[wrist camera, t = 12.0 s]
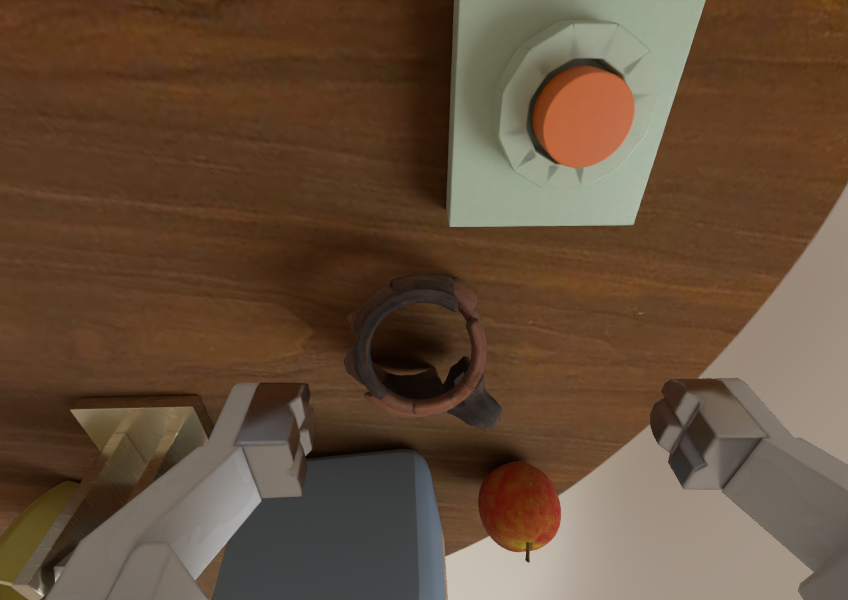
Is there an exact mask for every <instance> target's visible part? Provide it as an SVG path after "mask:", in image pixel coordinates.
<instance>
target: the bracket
mask: <svg viewBox="0 0 848 600" xmlns="http://www.w3.org/2000/svg"><path fill="white" fill-rule="evenodd" d="M70 411H71V412H72V414H73V415H74V416H75V418H76V419H77V420H78V422H79V423H80V424H81V426H82V427H83V429H84V430H85V431H86V433H87V434H88V435H89V437H90V438H91V439H92V441H93V442H94V443H95V445H96V446H97V448H98V449H99V450H100V452H101V453H100V454H99V456H98V457H97V459H96V460H95V462H94V463H93V465H92V466H91V468H90V469H89V471H88V472H87V474H86V475H85V477H84V478H83V480H82V481H81V483H80V484H79V486H78V487H77V489H76V490H75V491H74V493H73V494H72V496H71V497H70V499H69V500H68V502H67V503H66V505H65V506H64V508H63V509H62V511H61V512H60V514H59V515H58V517H57V518H56V520H55V521H54V523H53V524H52V526H51V527H50V529H49V530H48V532H47V533H46V535H45V536H44V538H43V539H42V541H41V542H40V544H39V545H38V547H37V548H36V550H35V551H34V553H33V554H32V556H31V557H30V559H29V560H28V562H27V563H26V565H25V566H24V568H23V569H22V571H21V572H20V574H19V575H18V577H17V578H16V580H15V581H14V583H13V584H12V586H11V587H12V588H13V589H15V590H16V591H17V592H19V593H20V594H21V595H23V596H24V597H26V598H27V599H28V600H40V599H41V598H42V597H43V596H44V595H45V594H46V593H48V592H49V591H50V590H51V589H52V587H53V585H54V584H55V577H54V566H55V565H57V564H58V563H59V562H60V561H61V560H62V559H64V558H65V557H66V556H67V555H68V554H69V553H71V552H72V551H73V550H74V549H75V548H76V547H77V546H78V544H79V543H80V541H81V540H82V539H84V538H85V537H86V536H87V535H89V534H90V533H91V532H92V531H94V530H95V529H96V528H97V527H99V526H100V525H101V524H102V523H104V522H105V521H106V520H107V519H109V518H110V517H111V516H112V515H114V514H115V513H116V512H117V511H119V510H120V509H121V508H122V507H124V506H125V505H126V504H127V503H129V502H130V501H131V500H132V499H134V498H135V497H136V496H137V495H139V494H140V493H141V492H142V491H144V490H145V489H146V488H147V487H148V486H150V485H151V484H152V483H153V482H155V481H156V480H157V479H158V478H160V477H161V476H162V475H163V474H165V473H166V472H167V471H168V470H170V469H171V468H172V467H173V466H175V465H176V464H177V463H178V462H180V461H181V460H182V459H183V458H185V457H186V456H187V455H188V454H190V453H191V452H192V451H193V450H195V449H196V448H197V447H198V446H206V444H207V442H208V440H209V438H210V436H211V433H212V431H213V429H214V427H213V425H212V423H211V421H210V419H209V416H208V414H207V412H206V410H205V407H204V405H203V403H202V401H201V399H200V396H199V395H182V396H136V397H90V398H79V399H78V400H77V402H76V403H75V404H74V405H73V407H72V408H71V409H70ZM133 489H134V490H133ZM132 491H133V492H132ZM127 500H128V501H127ZM126 502H127V503H126Z"/></svg>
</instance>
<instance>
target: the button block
mask: <svg viewBox="0 0 848 600" xmlns="http://www.w3.org/2000/svg"><path fill="white" fill-rule="evenodd" d="M704 3H705V0H454V14H453V40H452V67H451V93H450V120H449V146H448V173H447V199H446V212H447V217H448V223H449V226H450V227H484V226H582V225H633V224H634V221H635V218H636V215H637V212H638V209H639V206H640V202H641V199H642V196H643V193H644V190H645V187H646V184H647V181H648V178H649V174H650V171H651V168H652V165H653V162H654V159H655V156H656V153H657V150H658V146H659V143H660V140H661V137H662V134H663V131H664V128H665V125H666V122H667V118H668V115H669V112H670V109H671V106H672V103H673V100H674V97H675V94H676V90H677V87H678V84H679V81H680V78H681V75H682V72H683V69H684V66H685V62H686V59H687V56H688V53H689V50H690V47H691V44H692V41H693V38H694V34H695V31H696V28H697V25H698V22H699V19H700V16H701V13H702V10H703V6H704ZM579 65H589V66H594V67H597V68H600V69H602V70H605V71H607V72H610V73H612V74H615V75H617V76H618V77H620V78H621V79H622V80H624V81H625V82H626V84H627V85H628V86H629V88H630V90H631V92H632V95H633V98H634V105H635V112H634V119H633V123H632V126H631V129H630V131H629V133H628V135H627V137H626V139H625V140H624V142H623V143H622V144H621V146H620V147H619V148H618V149H617V150H616V151H615V152H614V153H613V154H612V155H611V156H609V157H608V158H606V159H605V160H603V161H601V162H599V163H597V164H595V165H592V166H588V167H582V168H573V167H568V166H565V165H562V164H560V163H558V162H557V161H556V160H554V159H553V158H552V157H551V156H550V155H549V153H548V152H547V151H546V150H545V149H544V148H543V147H542V146H541V145H540V143H539V142H538V140H537V138H536V136H535V134H534V131H533V125H532V115H533V109H534V106H535V102H536V100H537V98H538V96H539V94H540V92H541V91H542V89H543V88H544V86H545V85H546V84H547V83H548V82H549V81H550V80H551V79H552V78H553V77H554V76H555V75H557V74H558V73H560V72H562V71H564V70H566V69H568V68H571V67H574V66H579Z"/></svg>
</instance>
